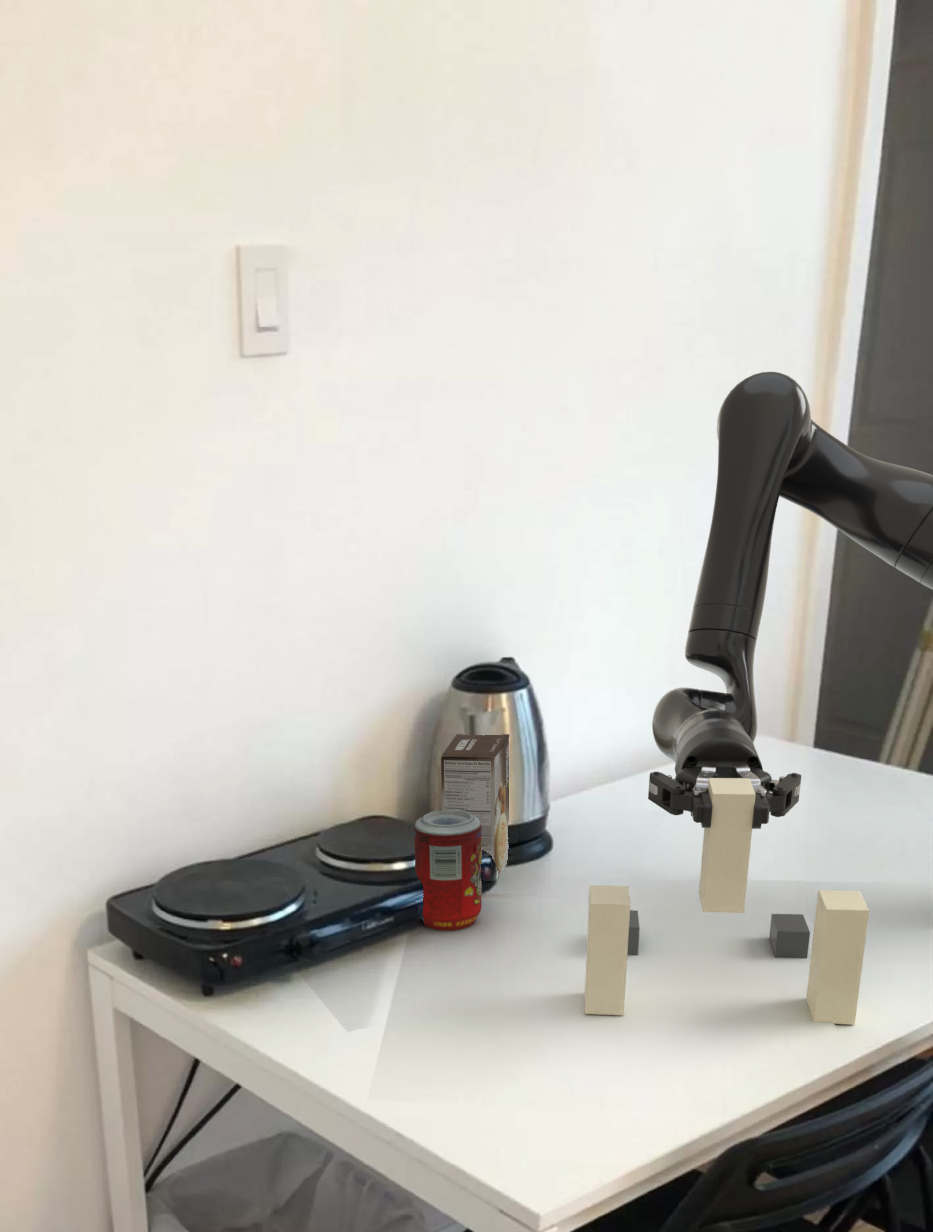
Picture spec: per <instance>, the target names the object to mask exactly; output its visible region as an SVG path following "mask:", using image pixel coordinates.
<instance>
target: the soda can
mask: <svg viewBox="0 0 933 1232" xmlns="http://www.w3.org/2000/svg"><path fill="white" fill-rule="evenodd" d="M481 830H482V826H481V822H480V820H479V819H478V818H477V817H475V816H474V815H472V814H471V813H470V812H466V811H461V810H456V809H450V810H442V809H441V810H433V811H430V812H428V813H425V814H424V815H423V816H421V817H419V818H418V819H417V820H416V821H415V823H414V826H413V833H414V834H413V835H414V837H413V838H414V872H415V871H416V874H417V877H418V879H419V880H420V881H421V883H422V884H423V889H424V890H423V891H424V892H423V894H424V895H423V896H424V897H423V902H424V903H423V904H424V905H423V918H424V924H423V925H424V926H425V927H427V928H428V929H432V930H435V931H442V932H443V931H444V932H450V931H452V932H453V931H461V930H463V929H464V930H465V929H467V928H469V927H471V926H473V925H474V924H475V922H476V920H477V918H478V917H479V915H480V914H481V911H482V905H483V904H482V903H483V902H482V881H481V872H482V871H481V864H482V861H481V859H482V849H481V843H482V834H481Z"/></svg>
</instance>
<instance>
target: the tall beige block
mask: <svg viewBox="0 0 933 1232" xmlns="http://www.w3.org/2000/svg"><path fill="white" fill-rule="evenodd" d="M708 793H709V794H710V798H711V802H712V819H711V828H703V838H702V851H701V853H702V854H701V863H700V864H701V866H700V873H699V874H700V875H699V885H698V895H699V901H700V905H701V910H702V913H722V914H724V913H725V914H726V913H727V914H744V913H745V905H746V898H747V897H746V895H747V885H748V876H749V875H748V874H749V866H750V856H751V855H750V854H751V845H752V835H753V829H752V824H753V814H754V804H755V792H754V789H753V786H752V784H751V781H750V779H749V778H709V780H708Z"/></svg>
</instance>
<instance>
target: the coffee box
mask: <svg viewBox="0 0 933 1232" xmlns="http://www.w3.org/2000/svg"><path fill="white" fill-rule="evenodd" d="M463 734H464V733H457V734H455V735H454V737H453V739H451V741H450V743H449V744H448V745H447V747H446V749H445V750H444V752H443V753H442V754H441V756H440V780H441V781H440V782H441V783H440V785H441V786H440V787H441V811H442V810H450V809H456V810H461V811H466V812H470V813H471V814H472V815H474V816H475V817H477V818H478V819H479V820H480V822H481V826H482V830H481V834H482V843H481V849H482V850H484V851H486V852H487V853H489V854H490V855H491V856H492V859H493V860H494V862H495V863H496V867H497V871H498V878H497V880H496V882H497V881H498V880H499V878H500V877H501V875H502V874H503V872H504V870H505V868H506V866H507V865H508V863H507V860H508V849H509V850H510V848H509V844H508V843H509V842H508V839H509V838H508V823H509V822H508V821H509V758H510V736H511V735H510V733H501V734H502V735H484V736H483V735H463Z"/></svg>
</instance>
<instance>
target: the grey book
mask: <svg viewBox="0 0 933 1232" xmlns="http://www.w3.org/2000/svg"><path fill="white" fill-rule="evenodd" d="M640 928H641V927H640V919H639V911H638V910H637V909H630V919H629V935H628V952H627V956H639V945H640V943H639V942H640V930H641V929H640Z"/></svg>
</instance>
